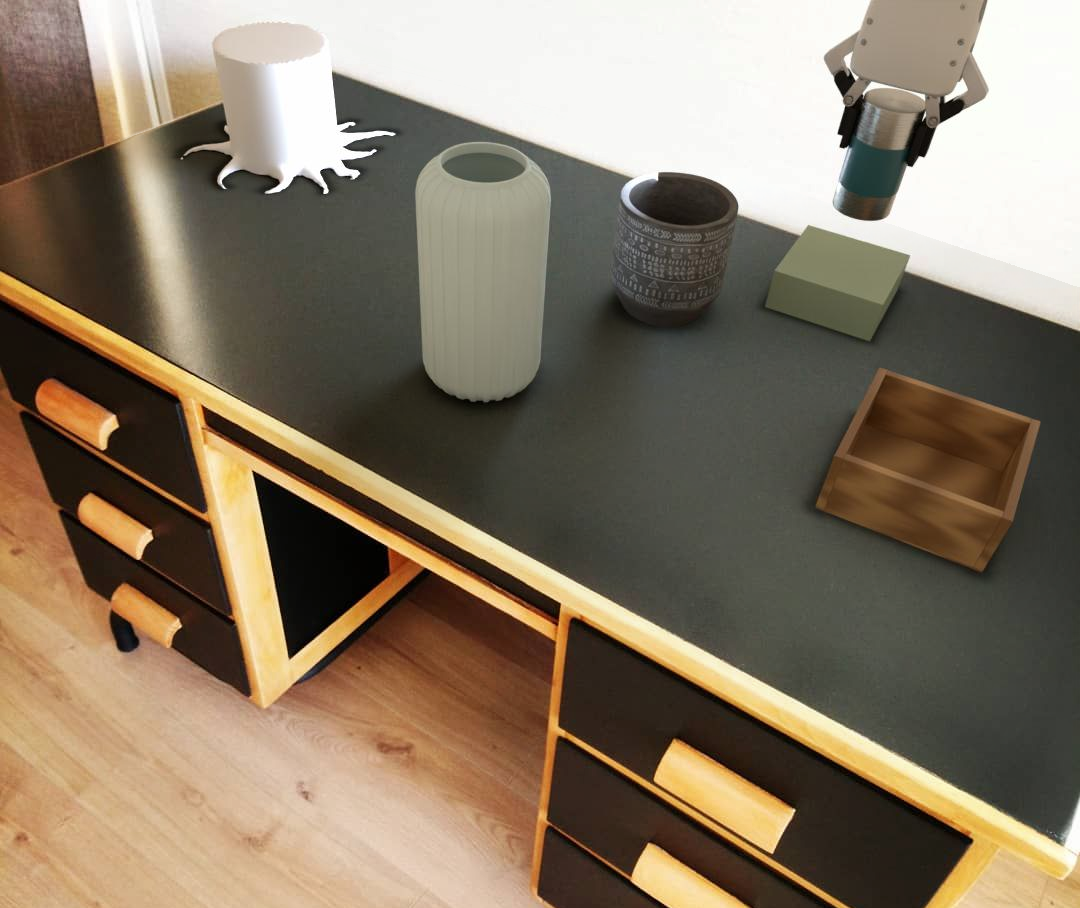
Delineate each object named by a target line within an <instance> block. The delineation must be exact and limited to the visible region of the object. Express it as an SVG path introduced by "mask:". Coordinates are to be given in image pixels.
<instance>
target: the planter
mask: <svg viewBox="0 0 1080 908" xmlns="http://www.w3.org/2000/svg"><path fill="white" fill-rule="evenodd" d="M739 206H740V205H739V202H738V199H737V198H736V195H734V194H733V192H732V191H731V190H730V189H729V188H727V187H726V186H724V185H723V184H721V183H719V182H717V181H715V180H713V179H710V178H708V177H704V176H700V175H697V174H693V173H685V172H675V171H657V172H650V173H645V174H641V175H639V176H637V177H633V178H632V179H630V180H629V181H627V182H626V183H624V185H623V186H622V188H621V189H620V193H619V201H618V210H617V217H616V225H615V231H614V232H615V233H614V241H613V242H614V244H613V249H612V256H611V261H610V262H611V263H610V274H609V276H610V281H611V284H612V288H613V289H614V292H615V293H616V296H617V298H618V299H619V301H620V303H621V304H622V306H623V308H624V309H625V311H626V312H627V313H628V314H629V315H630V316H632V317H633V318H634V319H636V320H638V321H640V322H642V323H645V324H647V325H651V326H657V327H664V328H665V327H669V328H670V327H671V328H672V327H679V326H684V325H687V324H689V323H692V322H693V321H695V320H696V319H697V318H699V316H701V315H702V314H703V313H704V312H705V311H706V310H707V309H709V307H710V306H711V305H712V304H713V303H714V302H715V301H716V299H717V298H718V297H719V295H720V293H721V291H722V287H723V284H724V279H725V275H726V270H727V264H728V259H729V255H730V251H731V248H732V247H731V246H732V242H733V238H734V233H735V228H736V222H737V217H738V214H739Z"/></svg>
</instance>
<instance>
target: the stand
mask: <svg viewBox="0 0 1080 908" xmlns="http://www.w3.org/2000/svg"><path fill="white" fill-rule="evenodd" d="M910 258H911V255H910V254H907V253H904V252H902V251H898V250H894V249H891V248H887V247H884V246H880V245H877V244H874V243H870V242H867V241H863V240H860V239H857V238H853V237H850V236H847V235H845V234H844V235H843V234H841V233H836V232H833V231H830V230H826V229H823V228H820V227H816V226H813V225H810V224H808V225H807V226H806V227H805V228H804V230H803V231H802V233H801V234H800V236H798V238H797V240H796V241H795V242H794V243H793V245H792V246H791V248H790V249H789V250H788V251H787V252H786V254H785V256H784V257H783V258H782V259H781V261H780V263H779V264H778V265H777V266H776V267H775V269H774V271H773V275H772V277H771V283H770V286H769V289H768V294H767V297H766V301H765V304H764V308H767V309H771V310H773V311H776V312H779V313H782V314H785V315H789V316H791V317H794V318H797V319H800V320H804V321H806V322H809V323H812V324H814V325H815V324H816V325H819V326H822V327H824V328H827V329H831V330H833V331H837V332H840V333H843V334H845V335H850V336H851V337H855V338H858V339H860V340H864V341H867V342H871V340H872V338H873V336H874V335H875V333H876V331H877V328H878V327H879V325H880V323H881V321H882V320H883V318H884V316H885V315H886V312H887V311H888V308H889V307H890V305H891V303H892V301H893V299H894V298H895V296H896V294H897V292H898V290H899V287H900V285H901V282H902V279H903V276H904V273H905V271H906V268H907V265H908V263H909V260H910Z"/></svg>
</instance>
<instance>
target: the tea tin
mask: <svg viewBox="0 0 1080 908" xmlns="http://www.w3.org/2000/svg"><path fill="white" fill-rule="evenodd" d="M925 115H926V107H925V99H923V98H922V97H921V96H919V95H917V94H916V93H914V92H911V91H908V90H904V89H899V88H893V87H877V88H872V89H869V90H867V91H866V92H865V93H864V94H863V101H862V104H861V108H860V111H859V114H858V118H857V121H856V124H855V128H854V130H853V133H852V136H851V139H850V143H849V146H848V147H847V148H846V149H847V150H846V152H845V156H844V160H843V163H842V166H841V170H840V173H839V176H838V180H837V185H836V188H835V191H834V195H833V199H832V207H834V209H835V210H836V211H837V212H839V213H840V214H841V215H843V216H845V217H848V218H851V219H854V220H858V221H864V222H876V221H882V220H884V219H886V218H887V217H889V215H890V214H891V211H892V208H893V206H894V204H895V203H894V202H895V200H896V196H897V194H898V192H899V190H900V187H901V184H902V181H903V179H904V176H905V173H906V170H907V167H908V166H907V164H906V162H907V159H908V156H909V153H910V150H911V147H912V144H913V141H914V139H915V136H916V133H917V130H918V127H919V125H920V124H921V122H922V121H923V119H924V118H925Z"/></svg>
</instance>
